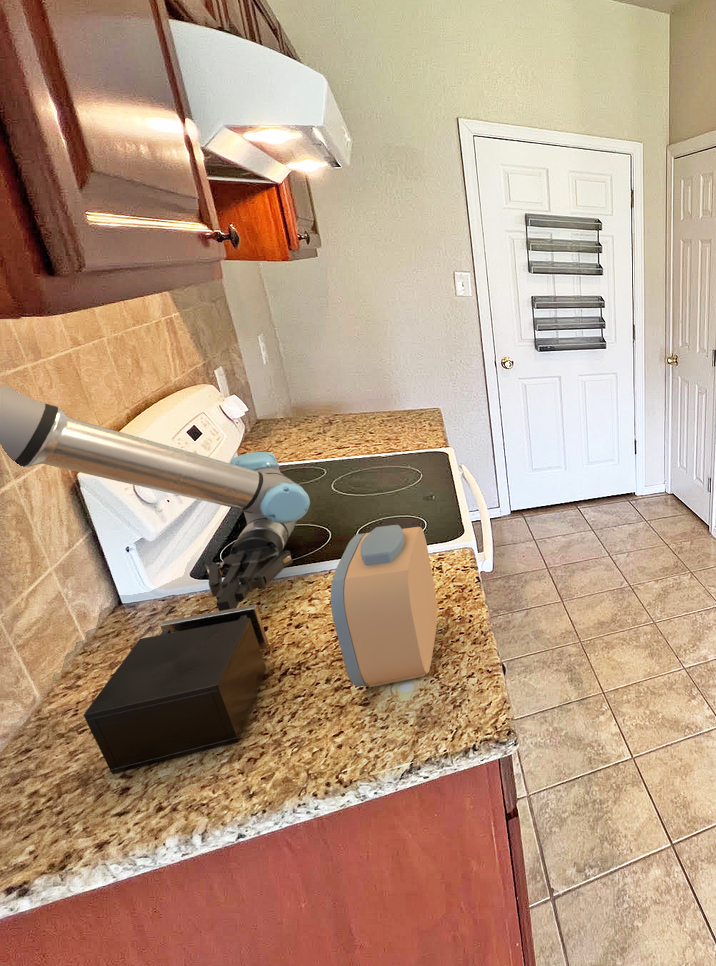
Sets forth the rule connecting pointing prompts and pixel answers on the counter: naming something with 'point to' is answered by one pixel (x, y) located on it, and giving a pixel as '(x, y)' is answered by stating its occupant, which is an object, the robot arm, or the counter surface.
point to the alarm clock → (385, 606)
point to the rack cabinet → (178, 695)
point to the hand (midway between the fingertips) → (224, 609)
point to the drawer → (219, 622)
